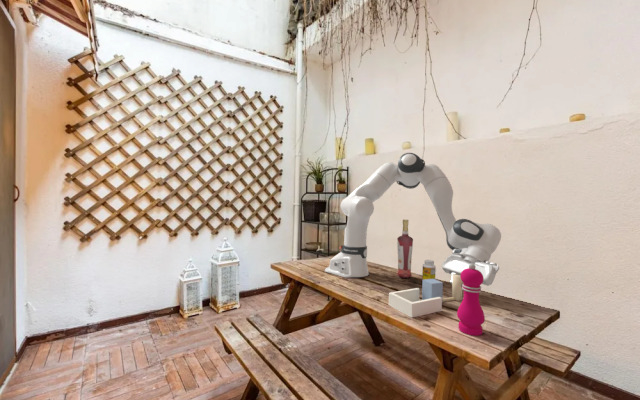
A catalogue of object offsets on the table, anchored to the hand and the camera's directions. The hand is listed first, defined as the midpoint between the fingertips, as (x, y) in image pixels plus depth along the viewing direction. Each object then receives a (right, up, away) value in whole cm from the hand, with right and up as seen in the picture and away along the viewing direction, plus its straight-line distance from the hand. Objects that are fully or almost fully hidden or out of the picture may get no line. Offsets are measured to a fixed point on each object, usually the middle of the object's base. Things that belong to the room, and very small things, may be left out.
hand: (457, 285), depth 110 cm
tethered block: (-6, -5, -2) cm, 8 cm away
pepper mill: (-9, -6, -26) cm, 28 cm away
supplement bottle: (-3, -5, +20) cm, 21 cm away
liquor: (-12, -5, +29) cm, 31 cm away
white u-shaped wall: (-20, -5, -10) cm, 23 cm away
